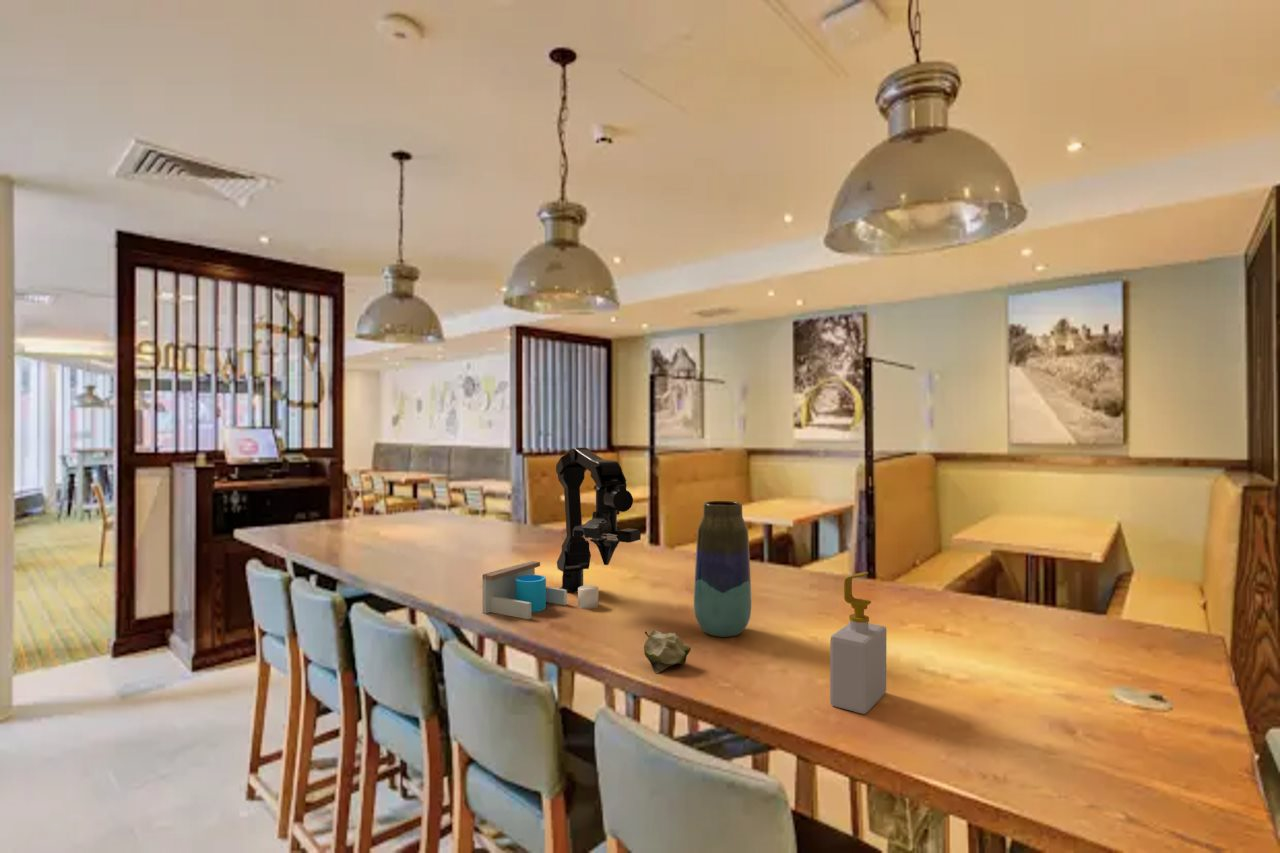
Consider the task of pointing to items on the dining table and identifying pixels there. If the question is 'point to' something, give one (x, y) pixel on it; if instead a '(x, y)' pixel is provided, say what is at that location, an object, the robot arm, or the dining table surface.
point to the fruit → (665, 650)
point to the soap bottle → (857, 658)
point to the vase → (722, 570)
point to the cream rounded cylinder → (588, 597)
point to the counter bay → (513, 591)
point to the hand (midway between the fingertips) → (606, 564)
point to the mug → (532, 591)
